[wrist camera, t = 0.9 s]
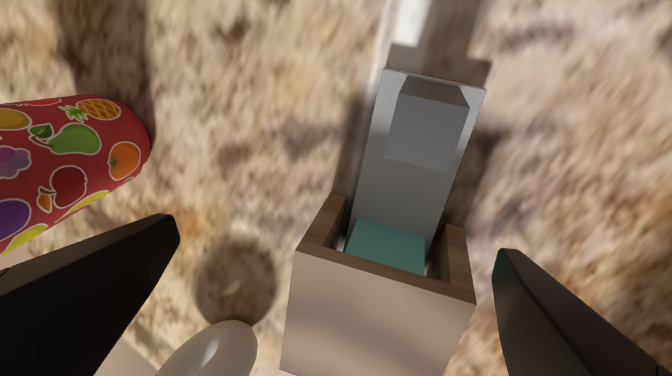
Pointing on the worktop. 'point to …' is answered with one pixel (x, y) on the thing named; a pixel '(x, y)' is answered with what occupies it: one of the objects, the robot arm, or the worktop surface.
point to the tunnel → (373, 307)
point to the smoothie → (62, 160)
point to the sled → (409, 166)
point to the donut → (215, 352)
